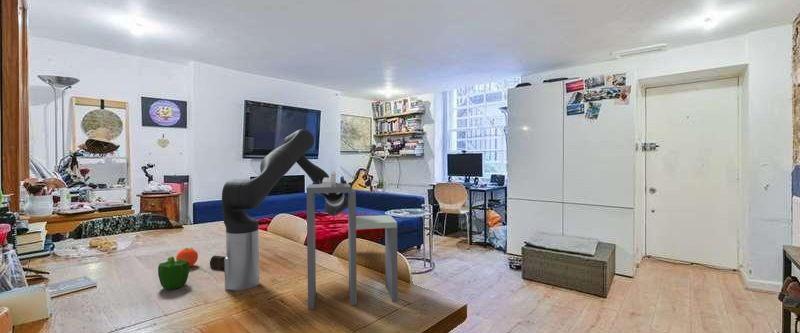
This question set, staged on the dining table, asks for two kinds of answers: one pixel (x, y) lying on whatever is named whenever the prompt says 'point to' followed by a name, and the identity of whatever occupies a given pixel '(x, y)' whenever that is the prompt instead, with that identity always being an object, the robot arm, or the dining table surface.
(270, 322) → the dining table surface
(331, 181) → the bracket
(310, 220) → the step stand
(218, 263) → the hand tool
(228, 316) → the dining table surface
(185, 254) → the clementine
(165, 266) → the bell pepper
